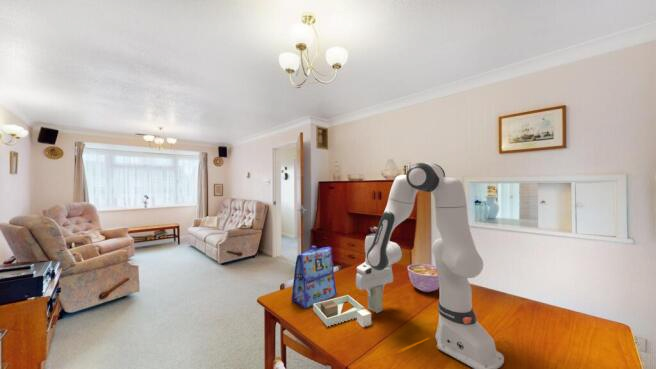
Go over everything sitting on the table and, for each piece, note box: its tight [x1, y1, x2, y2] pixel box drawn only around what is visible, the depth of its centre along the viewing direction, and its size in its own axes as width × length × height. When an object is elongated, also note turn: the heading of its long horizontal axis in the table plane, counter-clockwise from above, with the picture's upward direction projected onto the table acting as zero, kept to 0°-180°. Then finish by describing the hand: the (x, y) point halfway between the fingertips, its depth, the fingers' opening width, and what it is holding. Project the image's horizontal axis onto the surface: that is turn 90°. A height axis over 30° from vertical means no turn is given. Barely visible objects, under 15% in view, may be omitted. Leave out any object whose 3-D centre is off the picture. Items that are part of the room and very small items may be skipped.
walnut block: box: [321, 299, 338, 318], centre depth 113 cm, size 6×6×5 cm
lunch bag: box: [291, 245, 338, 309], centre depth 131 cm, size 22×14×29 cm, turn 131°
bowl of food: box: [407, 263, 439, 293], centre depth 141 cm, size 20×20×12 cm
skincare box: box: [367, 285, 384, 314], centre depth 119 cm, size 6×4×12 cm
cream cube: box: [356, 308, 372, 328], centre depth 107 cm, size 4×4×5 cm
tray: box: [312, 294, 366, 328], centre depth 116 cm, size 15×20×4 cm
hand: (375, 294), depth 119 cm, fingers closed on skincare box, 5 cm apart
